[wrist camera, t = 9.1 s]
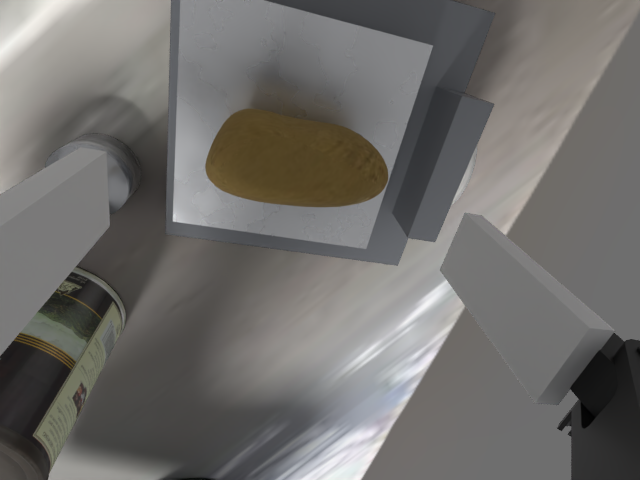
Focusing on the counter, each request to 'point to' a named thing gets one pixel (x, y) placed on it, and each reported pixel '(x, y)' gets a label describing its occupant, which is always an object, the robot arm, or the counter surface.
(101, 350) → the coffee can
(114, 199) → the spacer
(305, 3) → the scale base
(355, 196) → the potato
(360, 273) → the counter surface
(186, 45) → the platform
